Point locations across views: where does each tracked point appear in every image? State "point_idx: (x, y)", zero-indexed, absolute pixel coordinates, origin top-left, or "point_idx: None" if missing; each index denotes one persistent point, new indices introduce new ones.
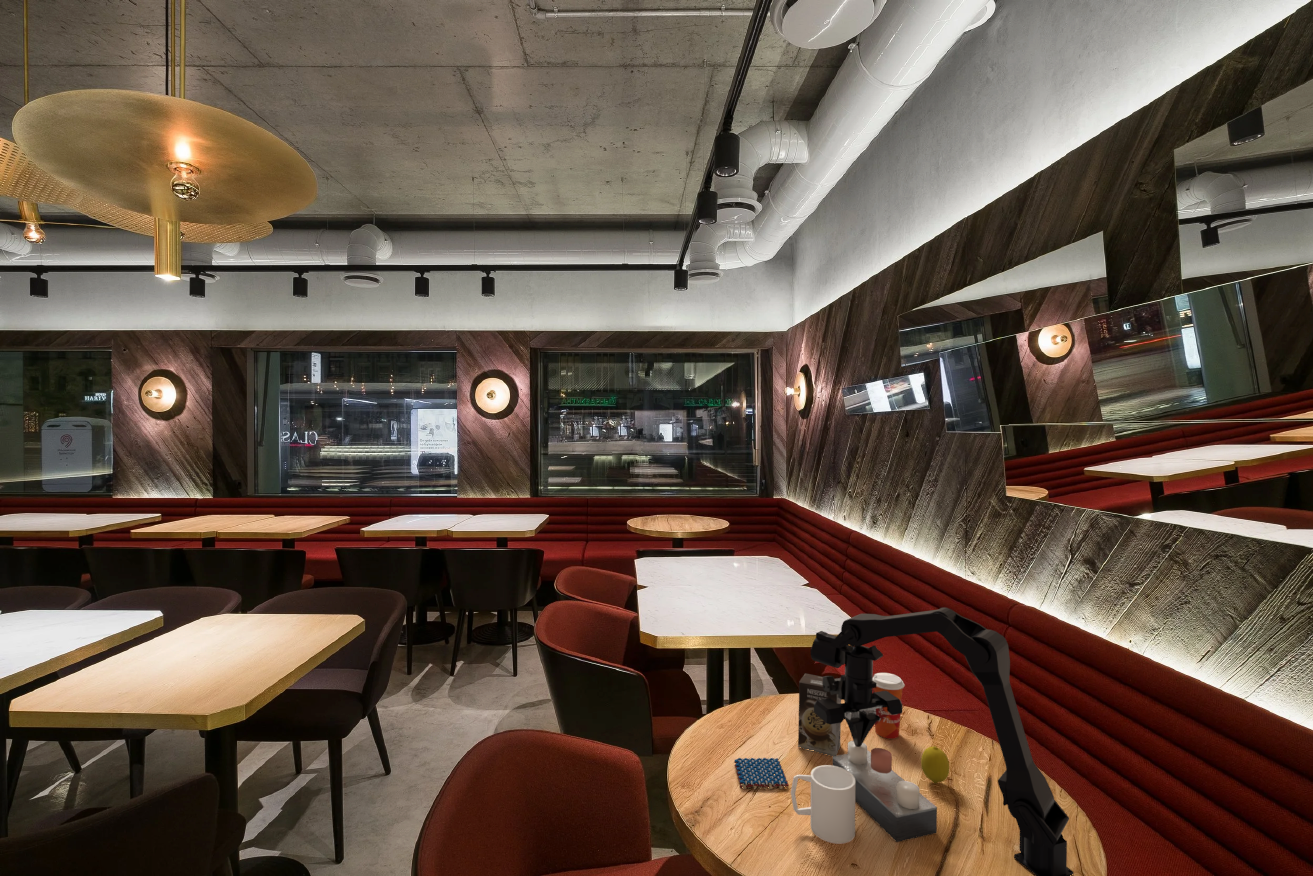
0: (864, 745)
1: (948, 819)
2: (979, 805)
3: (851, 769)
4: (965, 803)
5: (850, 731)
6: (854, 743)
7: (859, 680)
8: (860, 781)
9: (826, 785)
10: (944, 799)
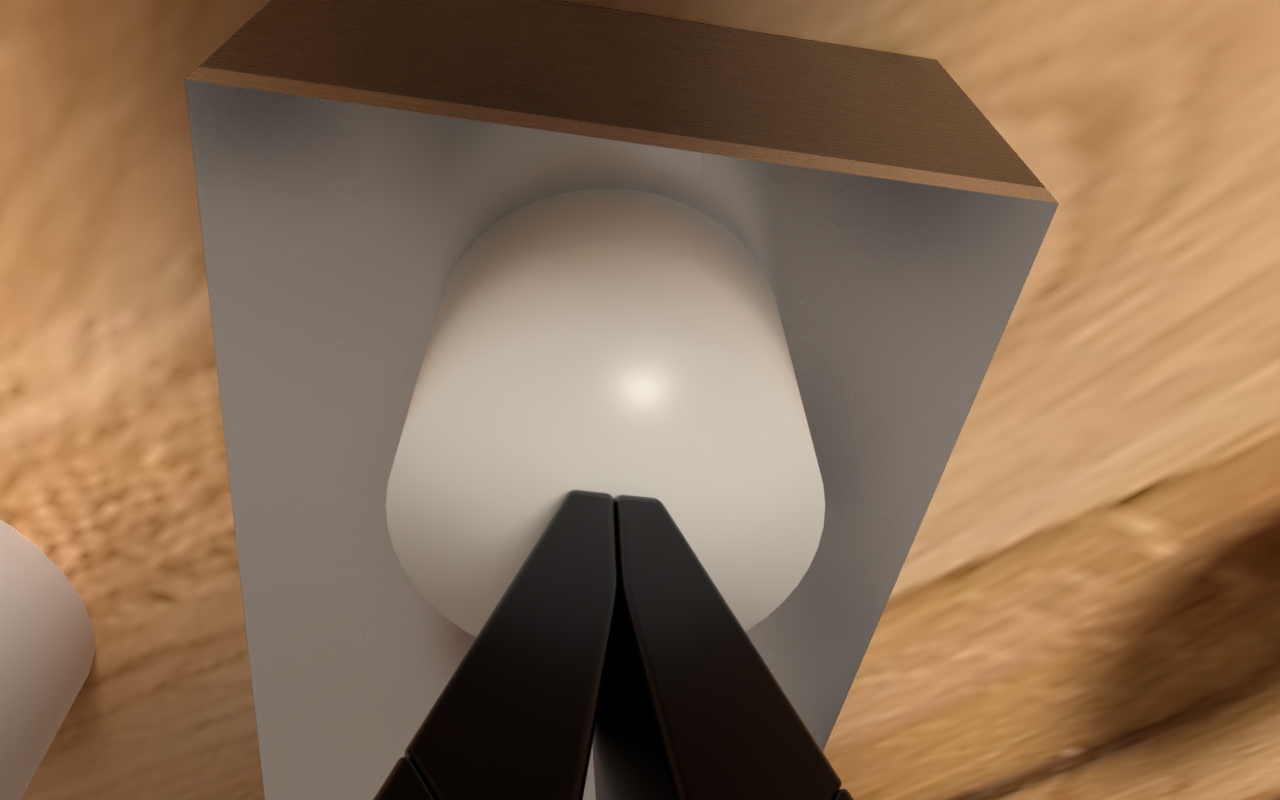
0: (746, 582)
1: (901, 794)
2: (1273, 779)
3: (301, 517)
4: (1217, 741)
5: (432, 716)
6: (557, 512)
7: None
8: (259, 715)
9: None
10: (1139, 670)
